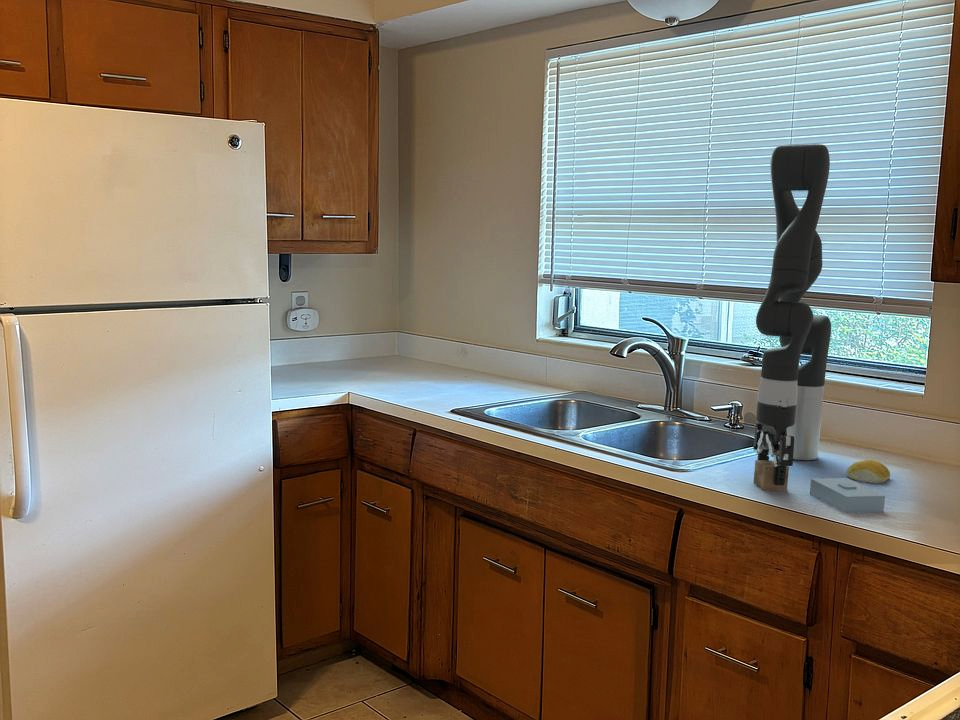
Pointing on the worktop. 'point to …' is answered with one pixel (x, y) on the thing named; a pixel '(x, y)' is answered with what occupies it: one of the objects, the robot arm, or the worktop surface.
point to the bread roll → (868, 471)
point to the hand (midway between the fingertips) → (770, 479)
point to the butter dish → (847, 495)
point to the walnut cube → (767, 475)
